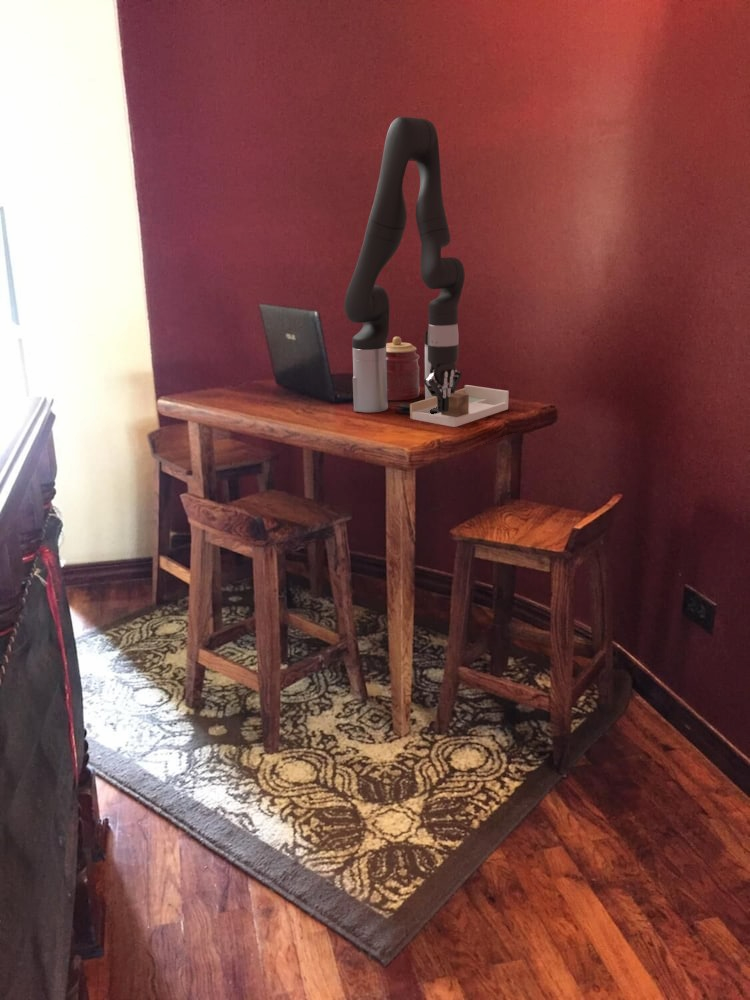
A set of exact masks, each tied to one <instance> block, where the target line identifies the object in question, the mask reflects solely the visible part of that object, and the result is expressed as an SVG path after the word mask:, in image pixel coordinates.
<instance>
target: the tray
mask: <svg viewBox="0 0 750 1000" xmlns="http://www.w3.org/2000/svg"><path fill="white" fill-rule="evenodd" d="M455 392H457V393H463V394H469V413H468V414H465V415H462V416H459V417H453V416H447V415H442V414H441V412H437V413H434V414H431V413H430V410H431V409H433V408H436V407H437V405H438V404H437V397H432V398H429V399H425V398H424V399H422V400H419V401H415V402H412V403H409V418H410V419H411V420H415V421H420V422H425V423H431V424H436V425H442V426H446V427H451V428H452V427H453V428H457V427H459V426H462V425H465V424H468V423H471V422H474V421H477V420H480V419H483V418H486V417H488V416H492V415H496V414H497V413H501V412H503V411H506V410H508V409H509V393H510V392H509V390H504V389H497V388H490V387H483V386H476V385H471V384H470V385H469V384H465V385H464V388H461V389H458V390H457V389H456V390H455Z"/></svg>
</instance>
